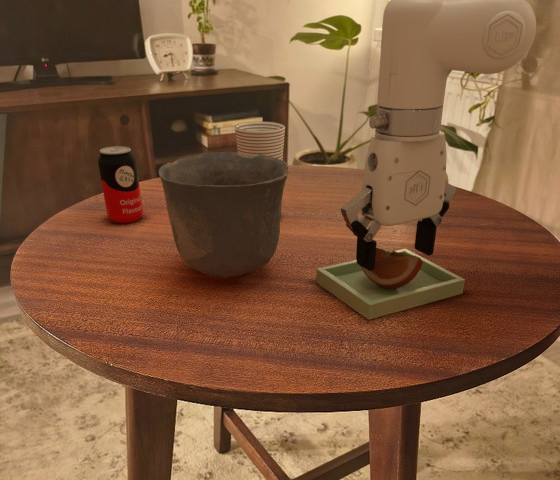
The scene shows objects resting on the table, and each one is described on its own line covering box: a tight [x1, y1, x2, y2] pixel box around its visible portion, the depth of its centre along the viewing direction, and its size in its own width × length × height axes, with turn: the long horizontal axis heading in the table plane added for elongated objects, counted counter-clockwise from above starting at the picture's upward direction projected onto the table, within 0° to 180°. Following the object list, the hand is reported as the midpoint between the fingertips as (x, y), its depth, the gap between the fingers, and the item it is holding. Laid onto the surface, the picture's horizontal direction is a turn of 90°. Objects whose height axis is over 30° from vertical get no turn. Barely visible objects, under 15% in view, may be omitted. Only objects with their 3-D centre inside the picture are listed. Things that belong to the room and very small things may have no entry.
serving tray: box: [315, 248, 466, 321], centre depth 77 cm, size 16×13×2 cm
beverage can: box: [97, 145, 144, 224], centre depth 99 cm, size 6×6×12 cm
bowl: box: [158, 151, 290, 279], centre depth 78 cm, size 18×18×15 cm
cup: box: [234, 120, 286, 161], centre depth 98 cm, size 8×8×16 cm
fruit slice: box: [361, 247, 423, 289], centre depth 76 cm, size 8×7×5 cm
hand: (395, 259), depth 75 cm, fingers open, 9 cm apart
